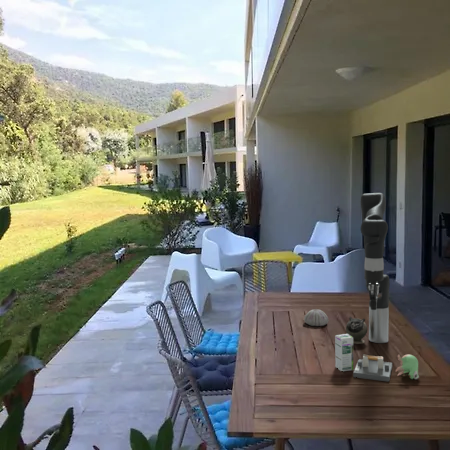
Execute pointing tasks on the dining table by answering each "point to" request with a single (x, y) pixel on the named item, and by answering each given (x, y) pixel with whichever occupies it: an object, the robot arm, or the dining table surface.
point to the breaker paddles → (380, 359)
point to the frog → (408, 366)
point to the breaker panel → (373, 370)
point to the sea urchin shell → (316, 318)
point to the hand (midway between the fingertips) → (373, 309)
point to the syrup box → (344, 352)
